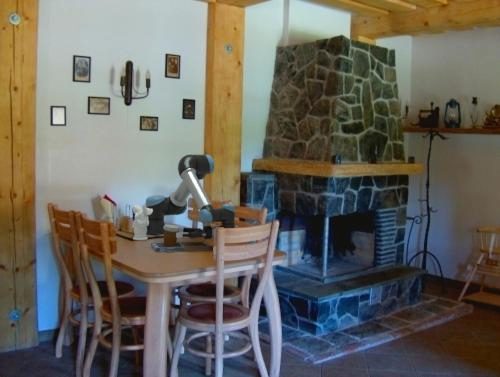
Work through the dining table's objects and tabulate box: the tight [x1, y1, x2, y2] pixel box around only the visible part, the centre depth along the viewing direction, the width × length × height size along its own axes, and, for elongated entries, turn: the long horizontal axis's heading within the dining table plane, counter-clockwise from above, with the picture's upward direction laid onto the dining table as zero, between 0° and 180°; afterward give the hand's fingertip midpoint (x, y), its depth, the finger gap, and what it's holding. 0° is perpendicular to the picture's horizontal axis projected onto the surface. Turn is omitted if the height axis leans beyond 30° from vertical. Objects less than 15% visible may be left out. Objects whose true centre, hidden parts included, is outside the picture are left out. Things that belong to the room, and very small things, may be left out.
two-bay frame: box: [150, 240, 213, 253], centre depth 322 cm, size 20×31×2 cm, turn 109°
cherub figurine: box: [131, 203, 153, 241], centre depth 344 cm, size 12×12×22 cm
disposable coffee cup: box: [163, 223, 181, 247], centre depth 321 cm, size 10×10×12 cm
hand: (173, 233), depth 319 cm, fingers open, 13 cm apart
